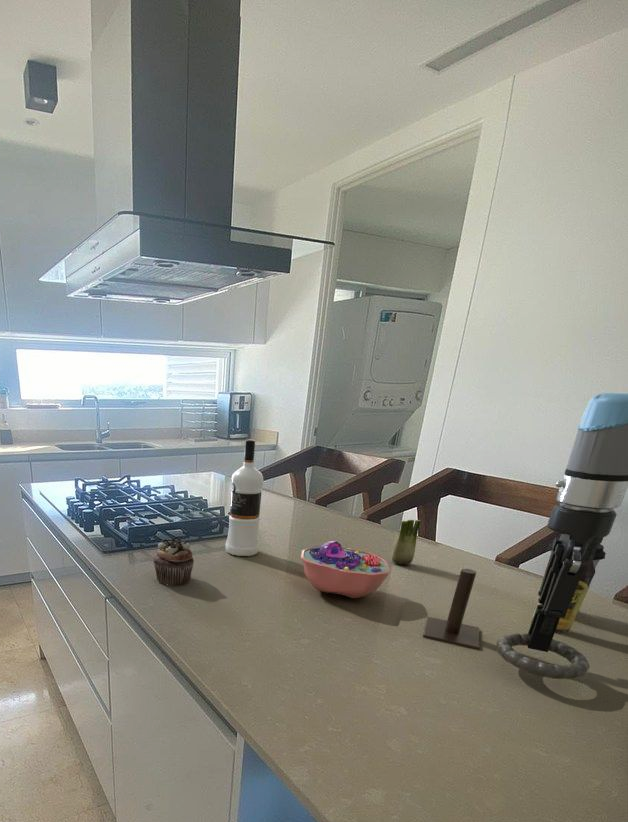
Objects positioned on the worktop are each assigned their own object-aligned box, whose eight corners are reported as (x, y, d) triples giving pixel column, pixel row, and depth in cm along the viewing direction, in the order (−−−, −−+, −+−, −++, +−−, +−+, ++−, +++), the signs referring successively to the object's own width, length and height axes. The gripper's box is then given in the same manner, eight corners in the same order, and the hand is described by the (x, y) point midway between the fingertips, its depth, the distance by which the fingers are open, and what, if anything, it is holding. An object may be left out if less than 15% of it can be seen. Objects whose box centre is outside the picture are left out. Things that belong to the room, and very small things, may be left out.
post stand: (477, 634, 93) (497, 568, 88) (477, 654, 86) (499, 584, 80) (425, 623, 97) (442, 559, 92) (421, 641, 90) (439, 573, 84)
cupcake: (201, 579, 116) (203, 539, 112) (173, 590, 110) (174, 548, 106) (173, 569, 122) (173, 530, 118) (144, 579, 116) (144, 539, 112)
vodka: (262, 557, 132) (272, 442, 120) (228, 557, 131) (235, 441, 119) (254, 546, 140) (263, 438, 128) (222, 547, 139) (229, 437, 127)
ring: (578, 652, 80) (582, 642, 79) (593, 690, 70) (598, 678, 69) (494, 635, 85) (497, 625, 84) (496, 667, 76) (500, 656, 75)
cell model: (353, 618, 99) (363, 565, 94) (280, 586, 113) (285, 539, 108) (400, 599, 108) (411, 550, 103) (326, 572, 122) (333, 528, 118)
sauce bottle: (525, 628, 96) (559, 530, 87) (535, 619, 99) (569, 525, 91) (564, 641, 91) (605, 539, 83) (574, 631, 95) (613, 533, 87)
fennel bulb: (410, 561, 131) (420, 517, 126) (415, 567, 127) (426, 522, 122) (387, 560, 132) (396, 516, 127) (392, 566, 127) (402, 521, 122)
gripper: (548, 494, 80) (507, 622, 89) (561, 514, 67) (513, 660, 77) (606, 499, 76) (557, 632, 86) (631, 521, 64) (571, 673, 74)
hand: (536, 645), depth 81 cm, fingers closed on ring, 2 cm apart
